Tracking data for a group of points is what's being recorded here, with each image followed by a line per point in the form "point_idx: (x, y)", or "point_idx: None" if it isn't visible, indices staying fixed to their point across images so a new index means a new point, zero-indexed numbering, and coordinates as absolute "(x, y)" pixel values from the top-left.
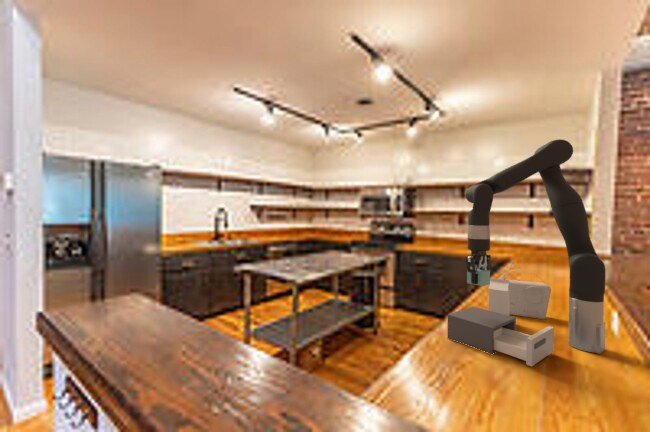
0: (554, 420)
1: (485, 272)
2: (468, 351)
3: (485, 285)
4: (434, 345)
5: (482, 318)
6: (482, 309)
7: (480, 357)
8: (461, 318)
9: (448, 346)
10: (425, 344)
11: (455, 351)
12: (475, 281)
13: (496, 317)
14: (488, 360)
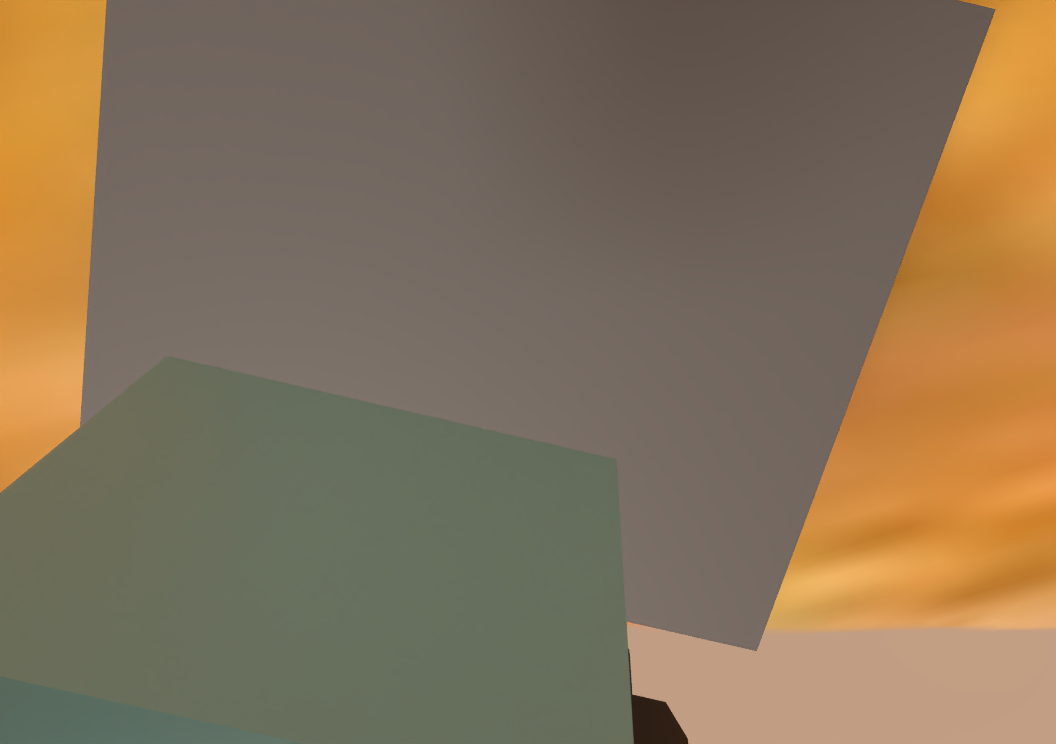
0: None
1: (379, 733)
2: (929, 233)
3: (465, 426)
4: (985, 529)
5: (602, 238)
6: (113, 350)
7: (1016, 93)
8: (816, 470)
9: (924, 422)
10: (1014, 597)
11: (1013, 334)
12: (658, 730)
13: (378, 75)
14: (1047, 4)
